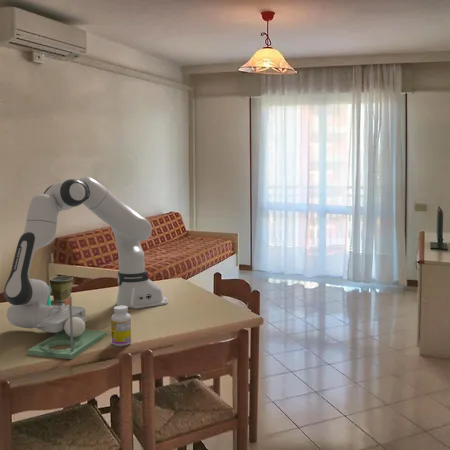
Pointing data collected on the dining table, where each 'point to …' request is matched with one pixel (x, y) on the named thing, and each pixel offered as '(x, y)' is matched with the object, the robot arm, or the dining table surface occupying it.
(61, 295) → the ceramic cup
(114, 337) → the supplement bottle
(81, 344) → the green
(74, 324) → the ball
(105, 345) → the dining table surface
